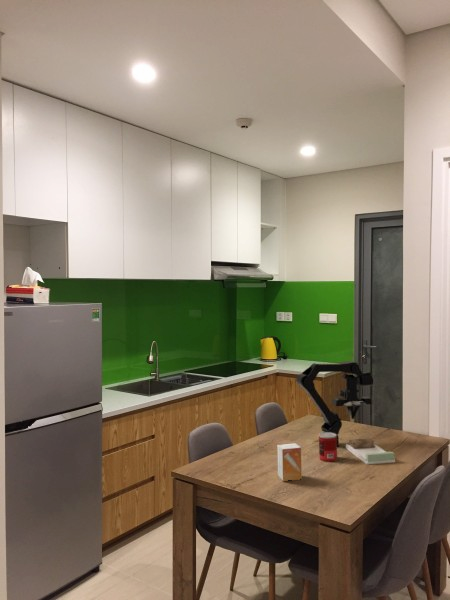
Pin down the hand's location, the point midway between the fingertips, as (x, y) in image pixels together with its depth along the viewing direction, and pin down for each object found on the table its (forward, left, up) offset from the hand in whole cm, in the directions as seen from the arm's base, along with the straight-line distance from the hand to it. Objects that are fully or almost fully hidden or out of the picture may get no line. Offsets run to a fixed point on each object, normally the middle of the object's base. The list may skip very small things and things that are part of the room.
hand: (352, 418), depth 248 cm
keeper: (0, -10, -11) cm, 15 cm away
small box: (-43, -39, -12) cm, 59 cm away
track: (0, -18, -12) cm, 22 cm away
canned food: (-20, -20, -12) cm, 31 cm away
